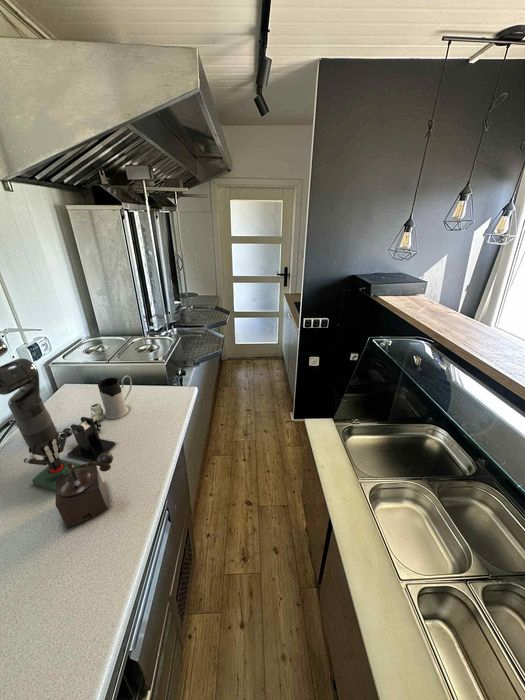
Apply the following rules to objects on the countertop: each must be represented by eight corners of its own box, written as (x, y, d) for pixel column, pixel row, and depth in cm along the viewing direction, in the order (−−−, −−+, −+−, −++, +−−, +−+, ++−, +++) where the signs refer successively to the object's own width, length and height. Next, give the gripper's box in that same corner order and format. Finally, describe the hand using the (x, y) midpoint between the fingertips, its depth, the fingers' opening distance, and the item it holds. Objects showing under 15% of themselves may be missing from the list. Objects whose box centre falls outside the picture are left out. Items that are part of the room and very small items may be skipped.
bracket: (68, 456, 99) (55, 428, 94) (88, 438, 107) (78, 411, 102) (96, 463, 96) (85, 434, 91) (115, 444, 104) (106, 416, 99)
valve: (91, 416, 119) (84, 436, 108) (87, 403, 116) (79, 422, 106) (109, 413, 120) (103, 432, 110) (105, 400, 118) (99, 418, 107)
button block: (34, 485, 89) (29, 476, 87) (59, 462, 97) (55, 454, 95) (61, 493, 86) (57, 483, 85) (85, 469, 94) (82, 460, 92)
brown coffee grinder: (66, 531, 76) (41, 485, 68) (65, 500, 84) (43, 455, 76) (128, 502, 83) (112, 457, 75) (121, 475, 92) (107, 432, 84)
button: (48, 475, 90) (46, 471, 89) (58, 466, 93) (56, 462, 92) (57, 477, 89) (55, 473, 88) (67, 468, 92) (65, 464, 91)
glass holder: (101, 415, 120) (91, 385, 113) (129, 397, 131) (122, 369, 124) (114, 421, 116) (105, 390, 109) (143, 402, 127) (135, 373, 120)
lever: (63, 440, 101) (57, 433, 100) (71, 433, 104) (65, 427, 103) (84, 432, 95) (78, 424, 95) (92, 426, 98) (86, 418, 97)
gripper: (47, 408, 89) (65, 450, 97) (2, 438, 78) (27, 482, 85) (66, 412, 87) (83, 454, 95) (23, 443, 76) (46, 488, 83)
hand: (56, 467), depth 90 cm, fingers closed
